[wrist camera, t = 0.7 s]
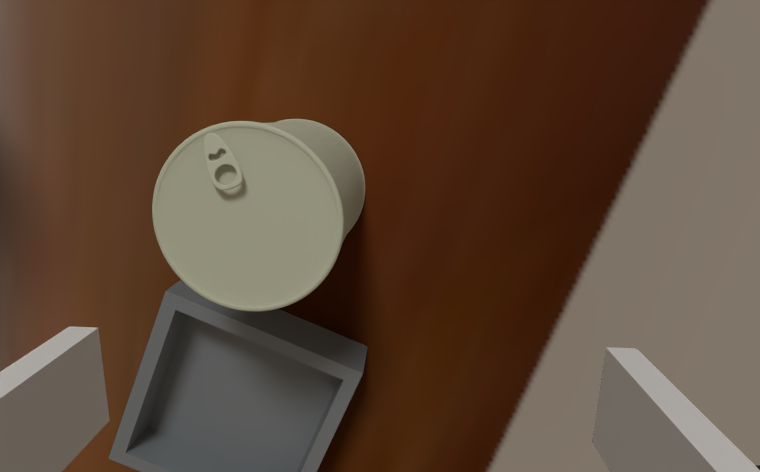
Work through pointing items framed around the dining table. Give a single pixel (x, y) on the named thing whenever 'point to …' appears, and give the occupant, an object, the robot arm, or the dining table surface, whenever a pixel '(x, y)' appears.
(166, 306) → the tray
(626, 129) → the dining table surface
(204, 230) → the can
